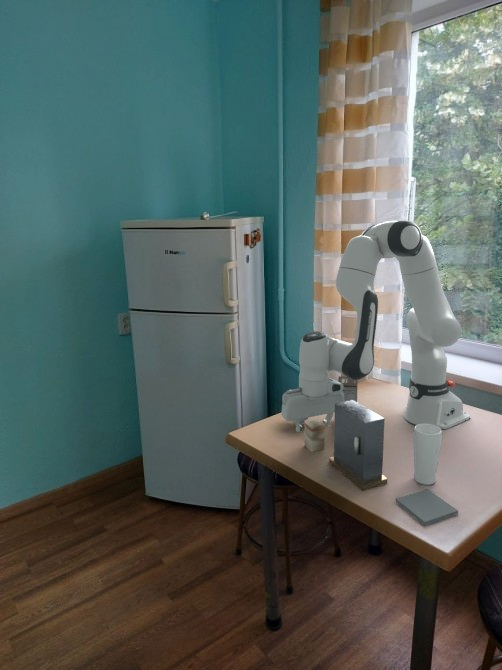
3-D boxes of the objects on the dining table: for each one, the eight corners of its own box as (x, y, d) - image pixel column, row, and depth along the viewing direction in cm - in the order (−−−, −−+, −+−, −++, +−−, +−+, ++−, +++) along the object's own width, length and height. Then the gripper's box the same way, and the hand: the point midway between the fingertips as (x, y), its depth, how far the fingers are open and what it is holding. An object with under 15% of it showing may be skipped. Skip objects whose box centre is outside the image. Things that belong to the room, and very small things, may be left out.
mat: (427, 492, 118) (427, 488, 117) (457, 514, 109) (458, 510, 108) (395, 502, 114) (395, 498, 114) (424, 525, 105) (425, 521, 105)
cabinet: (352, 456, 136) (353, 398, 132) (387, 483, 122) (390, 419, 118) (328, 462, 133) (329, 403, 129) (361, 491, 119) (363, 425, 115)
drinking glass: (424, 490, 119) (427, 436, 115) (405, 477, 125) (408, 426, 121) (443, 483, 121) (448, 431, 118) (424, 471, 127) (428, 421, 124)
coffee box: (337, 418, 162) (338, 375, 159) (356, 419, 161) (357, 376, 157) (337, 430, 154) (337, 384, 150) (356, 431, 152) (357, 385, 149)
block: (317, 442, 146) (317, 419, 144) (324, 448, 142) (324, 424, 140) (304, 445, 144) (304, 421, 142) (311, 451, 140) (311, 427, 138)
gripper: (287, 394, 132) (287, 439, 135) (348, 384, 139) (346, 426, 142) (277, 387, 137) (278, 430, 141) (336, 378, 145) (335, 418, 148)
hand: (312, 428), depth 141 cm, fingers open, 8 cm apart
